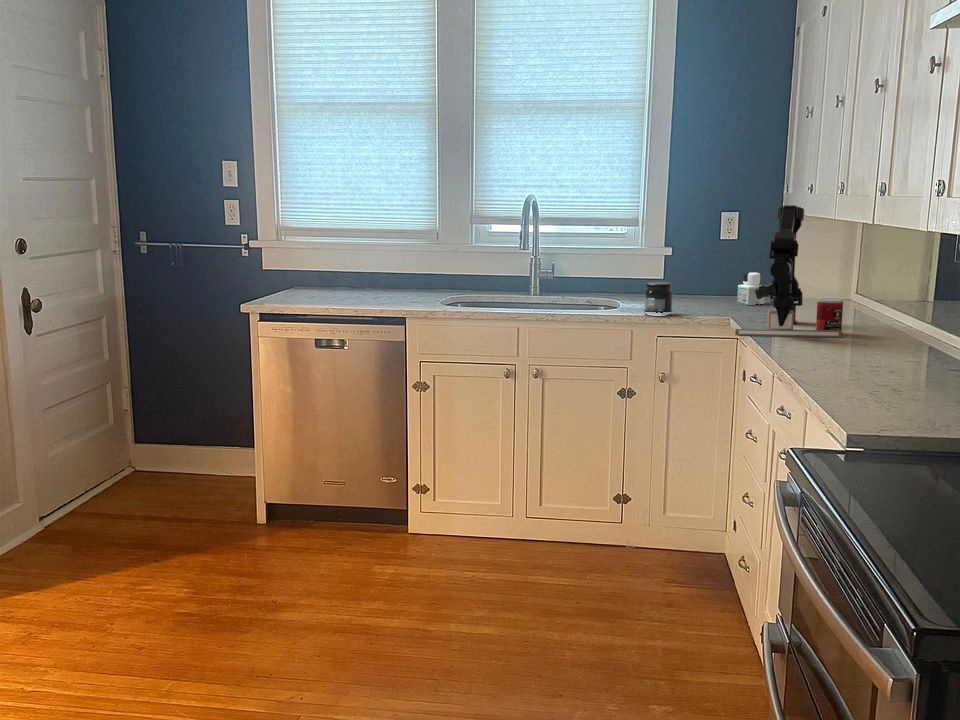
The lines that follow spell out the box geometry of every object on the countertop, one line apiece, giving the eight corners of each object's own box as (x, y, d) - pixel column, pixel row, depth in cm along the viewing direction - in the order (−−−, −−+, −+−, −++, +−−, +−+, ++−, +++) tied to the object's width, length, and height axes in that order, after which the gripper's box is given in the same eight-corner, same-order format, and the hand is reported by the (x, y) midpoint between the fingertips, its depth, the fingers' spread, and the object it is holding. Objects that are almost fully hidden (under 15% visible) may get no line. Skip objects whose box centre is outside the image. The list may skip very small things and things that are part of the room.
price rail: (735, 334, 286) (735, 328, 286) (841, 336, 278) (841, 330, 278) (735, 335, 285) (735, 329, 285) (841, 337, 277) (842, 331, 277)
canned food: (826, 336, 280) (827, 301, 278) (810, 332, 288) (812, 298, 286) (846, 334, 282) (848, 300, 280) (830, 331, 290) (832, 297, 288)
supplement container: (670, 312, 340) (671, 281, 338) (673, 316, 330) (674, 284, 327) (642, 313, 341) (643, 281, 339) (644, 316, 331) (645, 284, 328)
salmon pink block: (767, 327, 290) (768, 309, 289) (791, 328, 288) (792, 310, 287) (768, 330, 285) (769, 311, 284) (793, 330, 283) (793, 312, 282)
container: (736, 303, 362) (738, 272, 360) (753, 302, 365) (754, 271, 362) (747, 306, 355) (749, 273, 353) (764, 304, 357) (765, 272, 355)
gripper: (754, 273, 294) (752, 320, 297) (757, 279, 276) (755, 328, 279) (790, 273, 291) (788, 320, 294) (795, 279, 273) (793, 329, 276)
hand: (780, 324), depth 286 cm, fingers closed on salmon pink block, 5 cm apart
